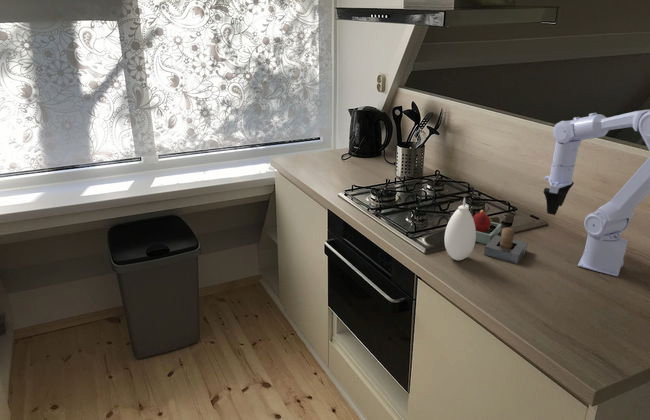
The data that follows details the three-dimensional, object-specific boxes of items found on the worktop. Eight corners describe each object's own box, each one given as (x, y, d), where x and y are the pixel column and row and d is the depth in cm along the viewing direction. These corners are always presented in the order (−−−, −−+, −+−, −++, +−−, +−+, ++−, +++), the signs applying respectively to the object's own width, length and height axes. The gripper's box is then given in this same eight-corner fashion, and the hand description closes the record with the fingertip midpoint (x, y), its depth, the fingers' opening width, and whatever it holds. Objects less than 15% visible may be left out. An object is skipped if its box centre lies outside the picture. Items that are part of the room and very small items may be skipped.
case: (500, 233, 154) (501, 224, 153) (489, 245, 146) (490, 235, 145) (469, 225, 159) (470, 216, 158) (457, 236, 152) (458, 227, 150)
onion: (489, 240, 149) (493, 215, 146) (469, 238, 151) (472, 213, 147) (488, 231, 155) (491, 207, 152) (468, 230, 156) (471, 205, 153)
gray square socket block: (526, 251, 143) (527, 243, 142) (517, 263, 136) (518, 255, 135) (494, 242, 148) (495, 234, 147) (484, 254, 141) (485, 246, 140)
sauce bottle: (459, 250, 144) (466, 190, 137) (478, 262, 137) (486, 199, 130) (437, 255, 140) (443, 194, 133) (455, 268, 134) (462, 204, 127)
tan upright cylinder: (501, 249, 144) (504, 226, 142) (512, 252, 142) (516, 229, 140) (497, 253, 142) (500, 230, 139) (508, 256, 140) (512, 233, 137)
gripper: (554, 155, 148) (546, 198, 153) (541, 167, 137) (533, 214, 142) (580, 159, 144) (571, 203, 149) (569, 172, 133) (560, 220, 138)
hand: (554, 209), depth 145 cm, fingers open, 7 cm apart
